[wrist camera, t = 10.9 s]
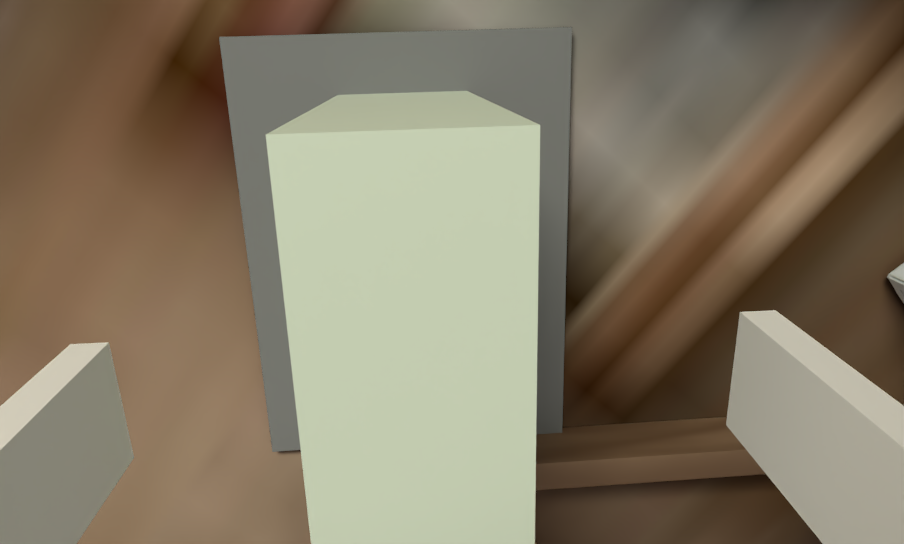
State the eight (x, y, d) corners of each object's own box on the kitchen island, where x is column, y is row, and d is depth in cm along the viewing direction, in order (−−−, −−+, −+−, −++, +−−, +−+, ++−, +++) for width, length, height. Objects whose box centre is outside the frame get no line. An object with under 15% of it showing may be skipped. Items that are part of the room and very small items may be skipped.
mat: (222, 37, 23) (219, 37, 22) (569, 27, 23) (572, 26, 23) (274, 446, 28) (272, 451, 27) (560, 427, 28) (562, 432, 28)
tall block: (338, 94, 23) (265, 134, 11) (467, 90, 23) (540, 125, 11) (361, 402, 27) (328, 695, 14) (472, 395, 27) (533, 677, 15)
